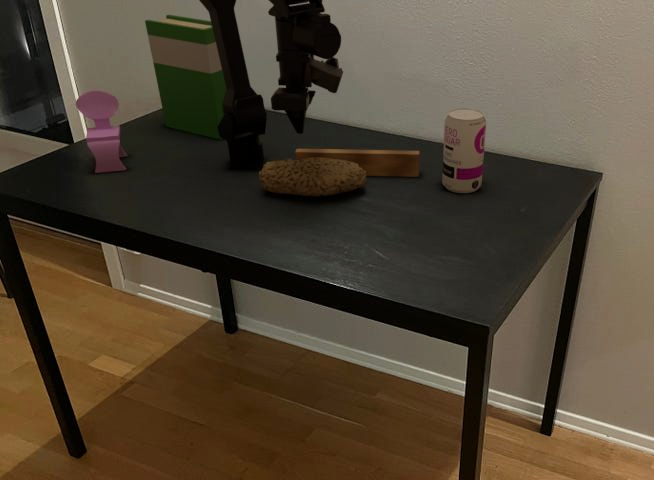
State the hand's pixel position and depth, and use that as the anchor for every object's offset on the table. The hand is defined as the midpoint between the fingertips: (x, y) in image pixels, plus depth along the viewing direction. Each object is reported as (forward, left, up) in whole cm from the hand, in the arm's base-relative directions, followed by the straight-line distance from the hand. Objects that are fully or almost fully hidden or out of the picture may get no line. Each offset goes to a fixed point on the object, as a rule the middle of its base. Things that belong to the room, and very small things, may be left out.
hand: (300, 133), depth 136 cm
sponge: (+2, +2, -13) cm, 13 cm away
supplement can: (+32, +6, -13) cm, 35 cm away
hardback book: (-30, +38, -13) cm, 50 cm away
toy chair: (-44, +14, -13) cm, 48 cm away
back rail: (+10, +11, -13) cm, 20 cm away
